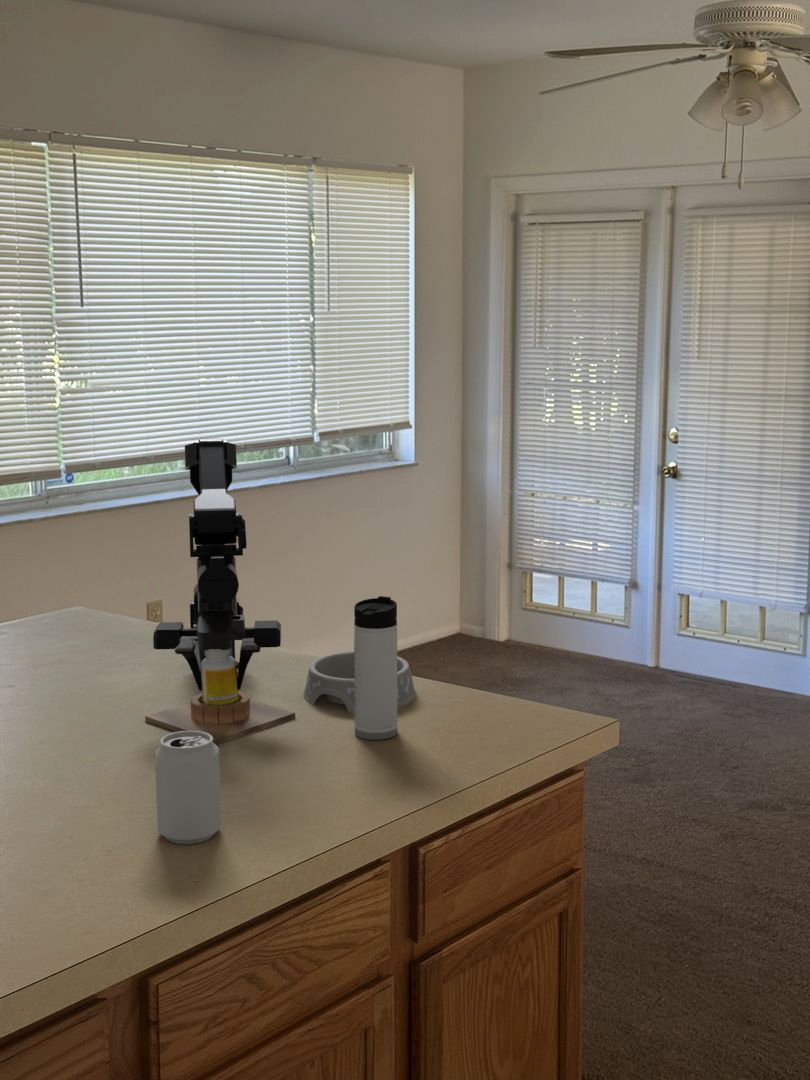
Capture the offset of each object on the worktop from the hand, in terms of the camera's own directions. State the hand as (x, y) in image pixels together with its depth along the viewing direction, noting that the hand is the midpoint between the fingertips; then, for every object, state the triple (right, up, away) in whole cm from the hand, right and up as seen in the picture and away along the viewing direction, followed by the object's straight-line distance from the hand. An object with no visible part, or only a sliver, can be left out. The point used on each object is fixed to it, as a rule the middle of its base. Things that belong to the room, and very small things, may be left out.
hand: (219, 689), depth 190 cm
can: (+2, -13, -40) cm, 42 cm away
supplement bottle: (0, -3, 0) cm, 3 cm away
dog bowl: (+21, -3, +13) cm, 25 cm away
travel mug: (+24, -6, -5) cm, 25 cm away
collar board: (0, -5, +1) cm, 5 cm away
